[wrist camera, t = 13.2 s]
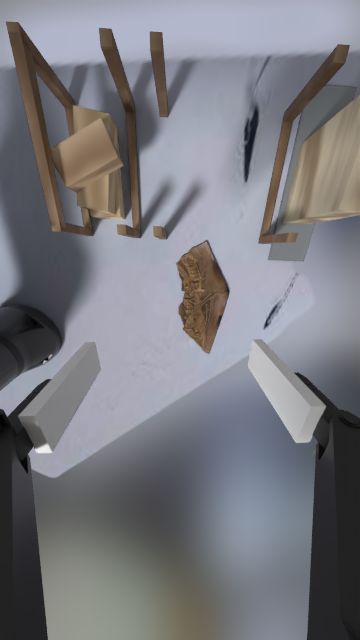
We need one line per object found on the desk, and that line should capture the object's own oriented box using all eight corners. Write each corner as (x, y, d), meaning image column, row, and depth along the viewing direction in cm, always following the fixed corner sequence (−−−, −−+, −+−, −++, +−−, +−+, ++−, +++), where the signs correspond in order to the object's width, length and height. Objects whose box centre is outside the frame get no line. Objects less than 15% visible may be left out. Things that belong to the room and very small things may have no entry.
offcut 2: (87, 209, 29) (77, 205, 26) (84, 121, 25) (72, 105, 22) (114, 215, 29) (108, 211, 26) (117, 128, 25) (109, 114, 22)
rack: (86, 235, 33) (52, 231, 24) (65, 100, 26) (5, 21, 17) (264, 243, 33) (295, 242, 24) (292, 113, 26) (349, 45, 17)
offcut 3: (98, 219, 32) (91, 216, 29) (86, 132, 27) (76, 119, 25) (125, 219, 32) (120, 217, 29) (118, 133, 27) (111, 120, 25)
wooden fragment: (175, 242, 33) (175, 242, 32) (231, 239, 33) (233, 239, 32) (181, 353, 44) (181, 356, 43) (224, 351, 43) (225, 354, 42)
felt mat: (268, 259, 34) (269, 259, 34) (307, 86, 25) (309, 84, 25) (302, 261, 35) (303, 261, 34) (354, 89, 25) (356, 87, 25)
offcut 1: (58, 160, 24) (46, 151, 22) (108, 130, 23) (100, 117, 21) (76, 192, 25) (66, 187, 23) (123, 165, 24) (118, 157, 22)
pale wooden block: (282, 222, 32) (338, 209, 21) (301, 144, 27) (384, 73, 16) (309, 223, 32) (379, 211, 21) (332, 145, 27) (435, 76, 16)
